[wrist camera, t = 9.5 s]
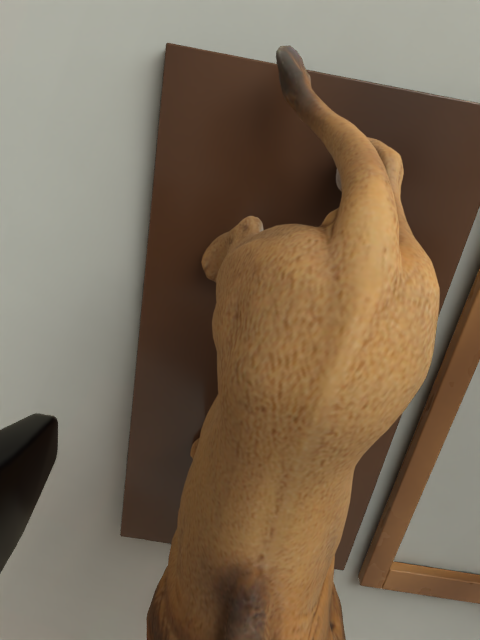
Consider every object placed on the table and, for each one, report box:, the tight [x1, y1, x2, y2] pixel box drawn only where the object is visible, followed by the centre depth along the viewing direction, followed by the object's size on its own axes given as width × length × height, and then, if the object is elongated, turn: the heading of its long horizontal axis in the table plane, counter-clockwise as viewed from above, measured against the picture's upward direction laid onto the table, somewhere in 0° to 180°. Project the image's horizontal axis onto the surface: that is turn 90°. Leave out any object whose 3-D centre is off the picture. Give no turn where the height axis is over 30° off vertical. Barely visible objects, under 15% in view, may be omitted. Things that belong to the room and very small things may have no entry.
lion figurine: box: [147, 46, 440, 640], centre depth 8 cm, size 15×5×9 cm, turn 1°
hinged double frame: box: [120, 43, 480, 604], centre depth 13 cm, size 16×16×1 cm
